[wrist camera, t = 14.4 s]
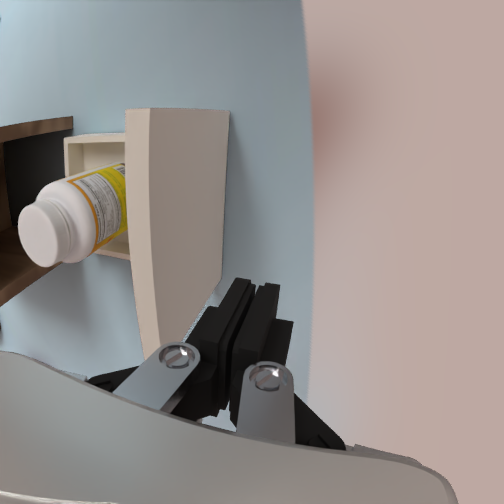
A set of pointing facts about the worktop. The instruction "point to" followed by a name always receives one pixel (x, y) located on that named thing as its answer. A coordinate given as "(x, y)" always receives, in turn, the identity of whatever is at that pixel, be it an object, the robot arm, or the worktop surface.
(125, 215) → the supplement bottle
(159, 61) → the worktop surface
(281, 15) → the worktop surface
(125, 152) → the drawer
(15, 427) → the robot arm
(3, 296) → the cabinet
